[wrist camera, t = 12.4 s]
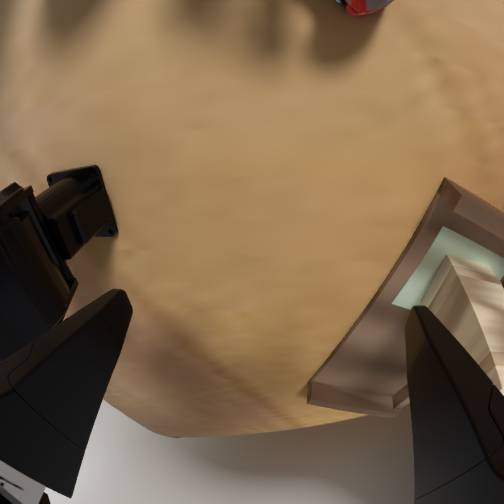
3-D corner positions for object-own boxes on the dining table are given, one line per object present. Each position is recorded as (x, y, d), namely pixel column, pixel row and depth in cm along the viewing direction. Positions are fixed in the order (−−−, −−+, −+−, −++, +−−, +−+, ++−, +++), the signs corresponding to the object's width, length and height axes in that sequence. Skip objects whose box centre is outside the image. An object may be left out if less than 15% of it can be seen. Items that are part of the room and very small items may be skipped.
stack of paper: (419, 301, 23) (449, 432, 13) (446, 253, 20) (502, 387, 10) (463, 309, 22) (499, 426, 13) (490, 265, 19) (548, 384, 10)
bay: (392, 397, 33) (394, 417, 30) (308, 381, 33) (306, 403, 30) (535, 236, 17) (551, 256, 15) (444, 177, 17) (461, 195, 15)
